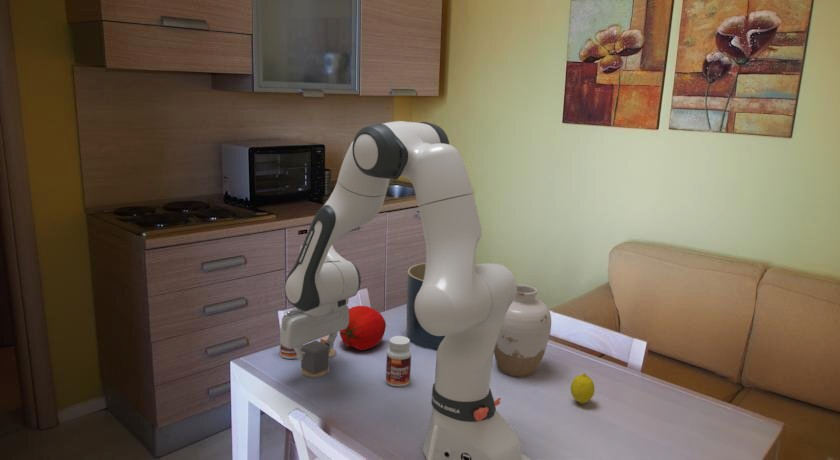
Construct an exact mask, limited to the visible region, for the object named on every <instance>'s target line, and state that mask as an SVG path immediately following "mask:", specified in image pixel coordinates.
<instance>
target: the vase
mask: <svg viewBox="0 0 840 460" xmlns="http://www.w3.org/2000/svg"><path fill="white" fill-rule="evenodd" d="M537 294H538V289H537V288H536V287H534V286H531V285H527V284H517V293H516V297H515V299H514V301H513V302H512V304H511V305H510V307H509V309H508V311H507V313H506V315H505V318H504V321H503V324H502V327H501V330H500V333H499V336H498V339H497V342H496V345H495V349H494V353H493V356H494V358H495V361H496V364H497V367H498V369H499V370H500V372H502V373H503V374H505V375H507V376H509V377H514V378H515V377H516V378H526V377H531V376H532V375H533V374H534V373H535V372H536V371H537V369H538V368H539V365H540V364H541V362H542V360H543V358H544V356H545V352H546V350H547V346H548V342H549V339H550V337H551V336H550V335H551V329H552V315H551V311H550V308H549V307H548V306H547V304H546V303H544V302H543V301H542V300H539V299H537V298H536V295H537Z"/></svg>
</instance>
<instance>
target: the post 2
mask: <svg viewBox="0 0 840 460" xmlns="http://www.w3.org/2000/svg"><path fill="white" fill-rule="evenodd" d="M328 337H329V336H325V337H322V338H320V341H319V342H321V343H323V344H325V342H326V341H327V340H328ZM336 355H337V350H336V349H335V348H332V349H329V359H332V358H334V357H336Z"/></svg>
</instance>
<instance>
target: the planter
mask: <svg viewBox="0 0 840 460" xmlns="http://www.w3.org/2000/svg"><path fill="white" fill-rule="evenodd" d="M425 267H426V262H422V263H416V264H414V265H411V266H410V267H409V268H408V269H407V277H406V278H407V280H406V281H407V282H406V329H405V330H406V331H405V332H406V333H405V334H406V337H407V338H409V340H410V343H412V344H415V345H417V346H419V347H421V348H424V349H427V350H435V351H437V350H438V347H439V345H440V343H441V342H442V340H443V339H444V337H445V336H435V335H432V334H430V333H428V332H427V331H425V330H424V329H423V328H422V326H421V325H420V323H419V322H418V320H417V317H416V314H415V308H414V304H415V299H416V296H417V294H418V292H419V290H420V288H421V286H422V283H423V280H424V275H425Z"/></svg>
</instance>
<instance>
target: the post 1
mask: <svg viewBox="0 0 840 460" xmlns="http://www.w3.org/2000/svg"><path fill="white" fill-rule="evenodd" d="M329 369H330V368H327V369H324V370H322V371H320V372H317V373H315V374H313V373H311V372H309V371H307V370H305V369H303V368H301V370H300V373H301V375H303V376H305V377H307V378H314V379H315V378H321V377H324V376H326V375H328V374H329Z"/></svg>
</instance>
